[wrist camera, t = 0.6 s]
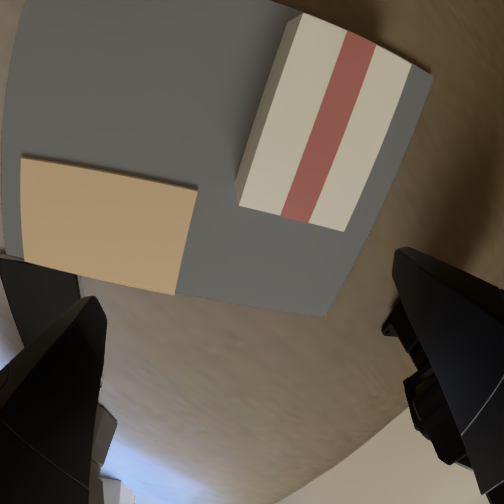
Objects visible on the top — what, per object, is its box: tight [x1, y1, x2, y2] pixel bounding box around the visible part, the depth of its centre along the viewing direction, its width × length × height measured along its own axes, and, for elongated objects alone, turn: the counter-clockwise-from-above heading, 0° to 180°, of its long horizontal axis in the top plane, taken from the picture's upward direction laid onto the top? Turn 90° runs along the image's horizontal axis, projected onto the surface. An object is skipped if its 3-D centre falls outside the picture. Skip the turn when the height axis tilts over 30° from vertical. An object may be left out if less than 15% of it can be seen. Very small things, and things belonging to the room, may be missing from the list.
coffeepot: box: [89, 404, 117, 504], centre depth 24 cm, size 15×9×18 cm, turn 165°
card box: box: [235, 13, 412, 232], centre depth 16 cm, size 10×6×4 cm, turn 163°
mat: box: [1, 0, 434, 317], centre depth 18 cm, size 26×20×1 cm
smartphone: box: [0, 254, 103, 388], centre depth 24 cm, size 8×1×15 cm
